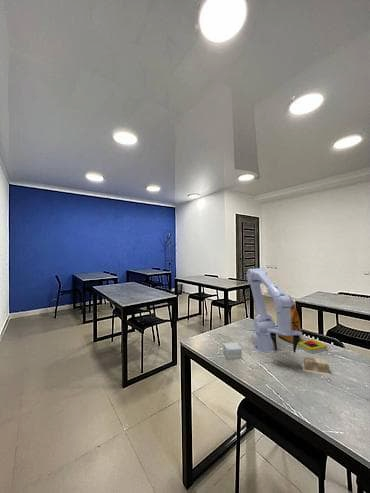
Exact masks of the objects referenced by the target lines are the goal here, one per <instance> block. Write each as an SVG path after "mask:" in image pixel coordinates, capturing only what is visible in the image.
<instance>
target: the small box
mask: <svg viewBox="0 0 370 493" xmlns="http://www.w3.org/2000/svg"><path fill="white" fill-rule="evenodd" d="M222 345H223V354H224V353H225V354H224V355H225V359H227V360H241V359H243V350H242V347H241V346H240V345H239V342H237V341H236V342H225V343H223V344H222Z"/></svg>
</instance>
